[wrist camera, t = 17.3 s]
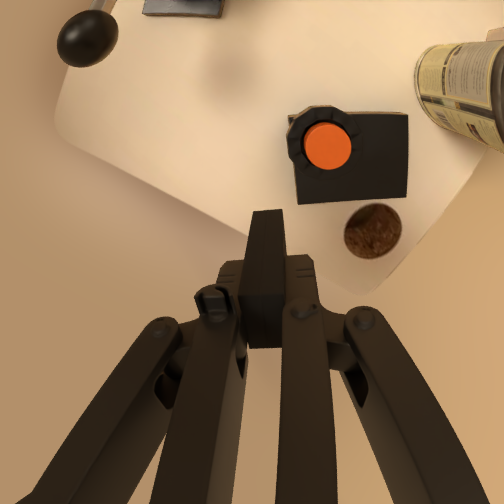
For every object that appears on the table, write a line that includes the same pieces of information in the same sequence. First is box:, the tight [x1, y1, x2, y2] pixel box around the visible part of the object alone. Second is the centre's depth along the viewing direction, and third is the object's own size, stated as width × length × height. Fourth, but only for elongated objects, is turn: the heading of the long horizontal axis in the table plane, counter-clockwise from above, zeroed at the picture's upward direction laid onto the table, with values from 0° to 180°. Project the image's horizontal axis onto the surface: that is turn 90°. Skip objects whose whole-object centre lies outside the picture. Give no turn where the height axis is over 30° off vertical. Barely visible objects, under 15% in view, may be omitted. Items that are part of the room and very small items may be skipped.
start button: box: [304, 122, 351, 169], centre depth 24 cm, size 4×4×2 cm
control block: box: [286, 105, 408, 205], centre depth 26 cm, size 12×10×4 cm
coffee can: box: [414, 41, 504, 153], centre depth 16 cm, size 10×10×14 cm
